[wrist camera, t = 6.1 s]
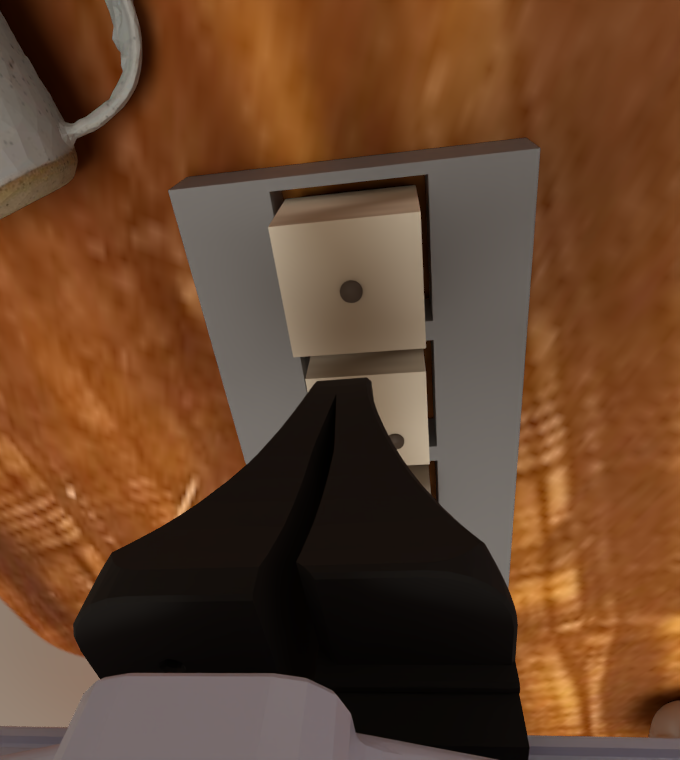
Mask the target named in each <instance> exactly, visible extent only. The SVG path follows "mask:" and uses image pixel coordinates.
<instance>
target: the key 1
mask: <svg viewBox="0 0 680 760" xmlns="http://www.w3.org/2000/svg"><path fill="white" fill-rule="evenodd" d="M268 230H269V235H270V240H271V245H272V250H273V256H274V261H275V266H276V271H277V276H278V281H279V286H280V291H281V297H282V302H283V307H284V312H285V317H286V322H287V327H288V332H289V338H290V343H291V348H292V353H293V357H306V356H320V355H335V354H349V353H364V352H378V351H393V350H407V349H422V348H426V332H425V308H424V283H423V259H422V235H421V211H420V206H419V201H418V195H417V190H416V185H410V186H401V187H391V188H382V189H373V190H364V191H354V192H345V193H336V194H327V195H317V196H308V197H299V198H290V199H285V201H284V202H283V204H282V205H281V207H280V209H279V210H278V212H277V213H276V215H275V217H274V218H273V220H272V221H271V223H270V225H269V226H268Z"/></svg>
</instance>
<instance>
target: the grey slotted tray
mask: <svg viewBox="0 0 680 760" xmlns="http://www.w3.org/2000/svg"><path fill="white" fill-rule="evenodd" d="M539 159H540V148H539V147H538V146H537V145H535V144H534V143H533V142H531V141H530V140H529V139H527V138H519V139H510V140H502V141H493V142H484V143H476V144H467V145H459V146H450V147H441V148H433V149H424V150H416V151H407V152H399V153H390V154H381V155H373V156H364V157H356V158H347V159H338V160H330V161H321V162H313V163H304V164H295V165H287V166H278V167H270V168H261V169H252V170H244V171H235V172H227V173H218V174H210V175H201V176H192V177H186V178H185V179H184V180H182V181H181V182H179V183H178V184H176V185H175V186H174V187H172V188H171V189H169V190H168V192H169V195H170V199H171V202H172V206H173V209H174V213H175V217H176V220H177V224H178V227H179V231H180V234H181V238H182V241H183V245H184V248H185V252H186V255H187V259H188V262H189V266H190V269H191V273H192V276H193V280H194V283H195V287H196V290H197V294H198V297H199V301H200V304H201V308H202V311H203V315H204V318H205V322H206V325H207V329H208V332H209V336H210V339H211V343H212V346H213V350H214V353H215V357H216V360H217V364H218V368H219V371H220V375H221V378H222V382H223V385H224V389H225V392H226V396H227V399H228V403H229V406H230V410H231V413H232V417H233V420H234V424H235V427H236V431H237V434H238V438H239V441H240V445H241V448H242V452H243V455H244V459H245V462H246V465H247V464H248V463H249V462H250V461H251V460H252V459H253V458H254V457H255V456H256V455H257V454H258V453H259V452H260V451H261V450H262V449H263V447H264V446H265V445H266V444H267V443H268V442H269V441H270V440H271V439H272V437H273V436H274V435H275V434H276V433H277V432H278V431H279V429H280V428H281V427H282V426H283V424H284V423H285V422H286V421H287V419H288V418H289V417H290V416H291V414H292V413H293V412H294V411H295V409H296V408H297V407H298V405H299V404H300V403H301V401H302V400H303V398H304V397H305V396H306V394H307V393H308V392H307V386H306V381H305V378H306V374H307V370H308V365H309V361H310V357H311V356H306V357H293V353H292V348H291V343H290V338H289V332H288V327H287V322H286V317H285V312H284V307H283V302H282V297H281V291H280V286H279V281H278V276H277V271H276V266H275V261H274V256H273V250H272V245H271V240H270V235H269V230H268V226H269V225H270V223H271V221H272V220H273V218H274V217H275V215H276V213H277V212H278V210H279V209H280V207H281V205H282V204H283V202H284V201H283V195H282V190H290V189H299V188H308V187H317V186H326V185H335V184H344V183H353V182H362V181H371V180H380V179H389V178H398V177H407V176H417V175H425V186H426V214H427V243H428V271H429V299H424V308H425V332H426V341H427V340H431V357H432V385H433V413H434V418H432V419H428V435H429V458H430V461H435V470H436V499H437V502H438V503H439V504H440V505H441V506H442V507H443V508H444V509H445V510H446V511H447V512H448V513H449V514H450V515H451V516H452V517H454V518H455V519H456V520H457V521H458V522H459V523H460V524H461V525H463V526H464V527H465V528H466V529H467V530H468V531H470V532H471V533H472V534H473V535H475V536H476V537H477V538H478V539H480V540H481V541H482V542H484V543H485V544H486V546H487V548H488V550H489V552H490V553H491V555H492V557H493V559H494V561H495V562H496V564H497V566H498V568H499V570H500V572H501V574H502V576H503V578H504V580H505V583H506V585H507V587H508V584H509V571H510V557H511V543H512V529H513V516H514V502H515V488H516V475H517V461H518V447H519V433H520V420H521V406H522V392H523V379H524V365H525V351H526V338H527V324H528V310H529V296H530V283H531V269H532V255H533V242H534V228H535V214H536V200H537V187H538V173H539Z"/></svg>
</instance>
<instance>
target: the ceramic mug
mask: <svg viewBox="0 0 680 760" xmlns="http://www.w3.org/2000/svg"><path fill="white" fill-rule="evenodd" d="M105 2H106V4H107V7H108V9H109V12H110V15H111V19H112V22H113V26H114V29H113V37H112V39H113V41H114V43H115V45H116V46H117V48H118V50H119V51H120V52H121V66H122V69H123V73H122V75H121V77H120V80H119V81H118V83H117V85H116V87H115V89H114V90H113V92H112V95H111V97H110V99H109V100H108V101H106V102H104V103H103V104H102V105H101V106H99V107H98V108H97V109H95V110H94V111H93V112H92V113H90V114H89V115H88V116H86V117H84V118H82V119H79V120H78V121H76V122H75V123H67V122H65V121H64V119H63V117H62V116H61V114H60V112H59V110H58V109H57V107H56V105H55V103H54V101H53V100H52V97H51V95H50V93H49V92H48V91H47V89H46V87H45V86H44V85H43V83H42V82H41V80H40V79H39V77H38V75H37V73H36V71H35V69H34V67H33V66H32V64H31V62H30V60H29V59H28V57H27V56H25V54H24V52H23V51H22V49H21V47H20V45H19V44H18V42H17V41H16V38H15V36H14V34H13V33H12V31H11V29H10V27H9V25H8V23H7V21H6V20H5V18H4V16H3V15H2V13H1V11H0V219H1V218H4V217H6V216H8V215H10V214H11V213H13V212H15V211H17V210H19V209H21V208H23V207H25V206H27V205H28V204H30V203H32V202H34V201H36V200H38V199H40V198H42V197H44V196H46V195H48V194H50V193H52V192H53V191H55V190H57V189H59V188H61V187H62V186H64V185H66V184H67V183H69V182H70V181H71V180H72V179H73V177H74V176H75V171H76V167H77V163H78V158H77V153H76V150H75V147H74V143H75V141H76V139H77V138H79V137H82V136H84V135H86V134H88V133H91V132H94V131H95V130H97V129H99V128H100V127H102V126H103V125H104V124H105V123H107V122H108V121H109V120H110V119H111V118H112V117H113V116H115V115H116V114H117V113H118V112H119V111H120V110H121V109H122V108H123V107H124V106H125V105H126V103H127V102H128V100H129V99H130V97H131V96H132V94H133V92H134V91H135V89H136V86H137V84H138V80H139V77H140V72H141V66H142V36H141V30H140V25H139V22H138V18H137V15H136V11H135V7H134V4H133V1H132V0H105Z"/></svg>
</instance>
